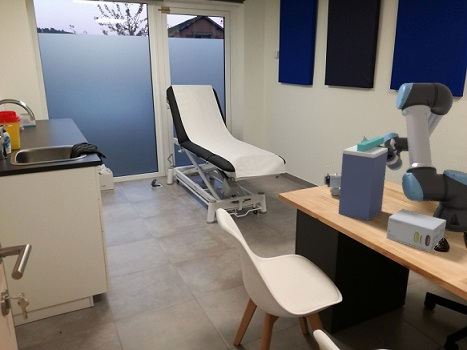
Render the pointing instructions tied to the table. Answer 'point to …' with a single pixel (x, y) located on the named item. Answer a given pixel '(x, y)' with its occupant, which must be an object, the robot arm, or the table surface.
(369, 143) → the bar
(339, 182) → the pneumatic valve
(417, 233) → the supplement box
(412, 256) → the table surface
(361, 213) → the pedestal
